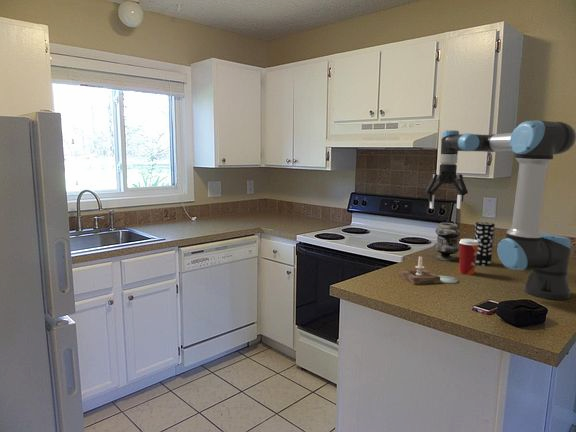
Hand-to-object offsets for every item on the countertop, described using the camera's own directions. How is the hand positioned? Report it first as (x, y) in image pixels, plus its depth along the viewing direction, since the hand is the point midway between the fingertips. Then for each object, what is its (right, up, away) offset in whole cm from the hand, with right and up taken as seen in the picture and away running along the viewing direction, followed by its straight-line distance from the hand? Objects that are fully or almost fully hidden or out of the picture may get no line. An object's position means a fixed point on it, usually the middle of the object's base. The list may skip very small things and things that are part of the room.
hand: (445, 208), depth 199 cm
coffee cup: (+5, -29, -12) cm, 32 cm away
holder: (-20, -30, -23) cm, 43 cm away
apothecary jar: (+5, -26, +13) cm, 29 cm away
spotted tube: (+20, -27, +5) cm, 34 cm away
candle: (-20, -31, -23) cm, 43 cm away
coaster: (-8, -31, -23) cm, 39 cm away
